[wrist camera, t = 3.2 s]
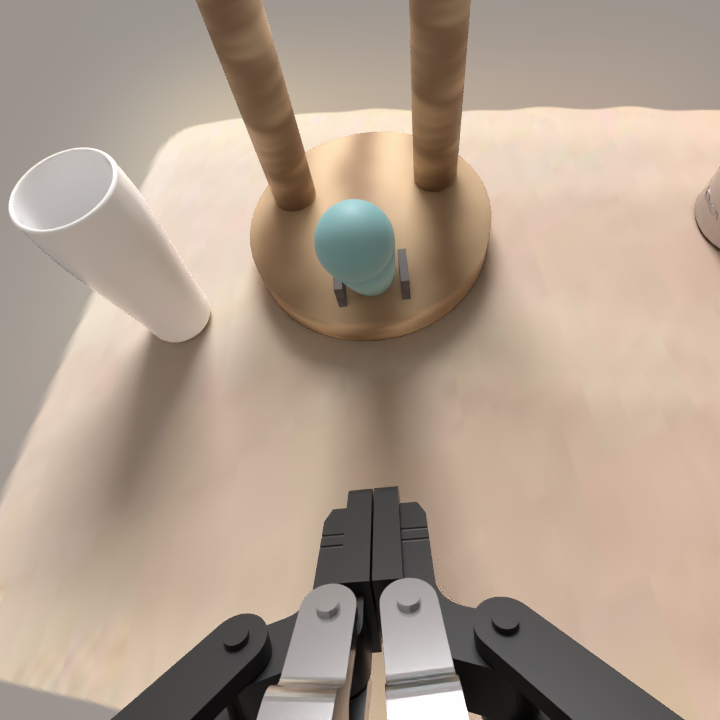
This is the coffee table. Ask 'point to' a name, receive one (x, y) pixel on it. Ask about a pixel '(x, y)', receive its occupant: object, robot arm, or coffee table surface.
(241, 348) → the coffee table surface
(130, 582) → the coffee table surface
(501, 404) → the coffee table surface
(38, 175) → the drinking glass
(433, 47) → the stool
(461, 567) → the coffee table surface
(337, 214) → the teal capsule cylinder
